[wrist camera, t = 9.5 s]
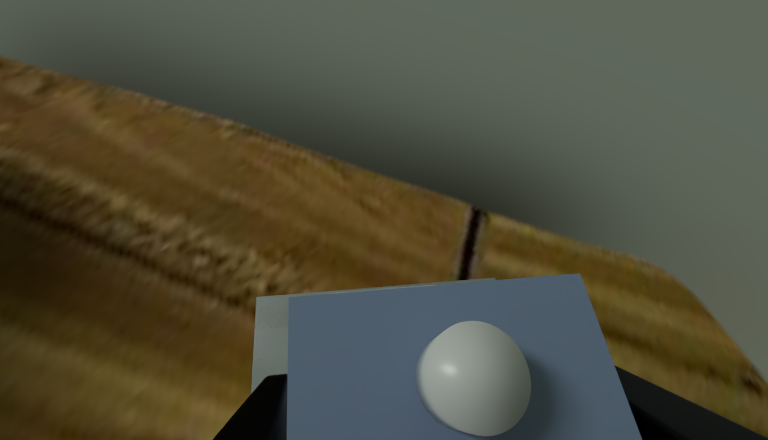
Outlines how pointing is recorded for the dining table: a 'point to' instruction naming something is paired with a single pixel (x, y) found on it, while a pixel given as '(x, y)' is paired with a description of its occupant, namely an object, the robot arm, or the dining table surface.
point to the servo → (454, 364)
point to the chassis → (274, 330)
